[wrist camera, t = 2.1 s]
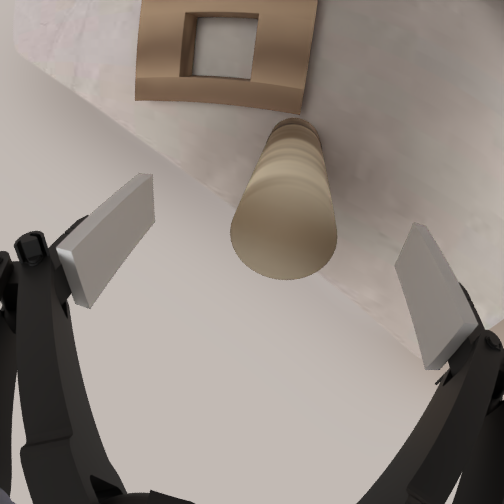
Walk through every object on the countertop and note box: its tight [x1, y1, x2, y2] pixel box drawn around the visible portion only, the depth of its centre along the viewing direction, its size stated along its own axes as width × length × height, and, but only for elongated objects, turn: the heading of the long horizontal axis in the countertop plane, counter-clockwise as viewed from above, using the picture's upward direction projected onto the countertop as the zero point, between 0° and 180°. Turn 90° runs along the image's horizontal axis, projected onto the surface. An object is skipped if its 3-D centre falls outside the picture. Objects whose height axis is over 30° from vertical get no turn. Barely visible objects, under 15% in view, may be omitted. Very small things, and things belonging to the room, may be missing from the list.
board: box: [135, 0, 318, 115], centre depth 17 cm, size 16×14×3 cm
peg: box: [230, 118, 337, 280], centre depth 18 cm, size 4×4×16 cm
